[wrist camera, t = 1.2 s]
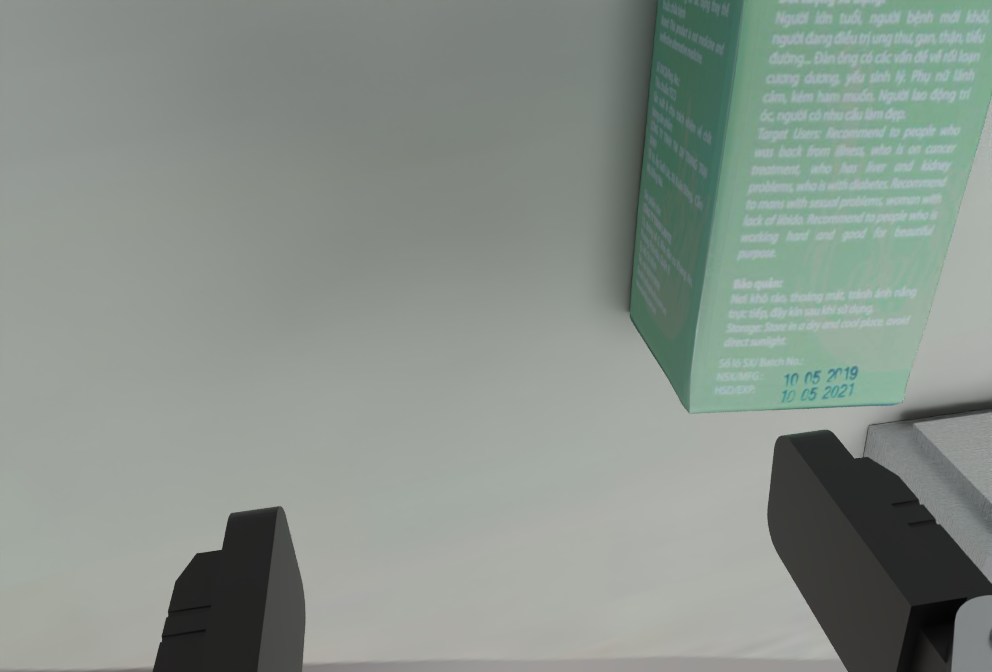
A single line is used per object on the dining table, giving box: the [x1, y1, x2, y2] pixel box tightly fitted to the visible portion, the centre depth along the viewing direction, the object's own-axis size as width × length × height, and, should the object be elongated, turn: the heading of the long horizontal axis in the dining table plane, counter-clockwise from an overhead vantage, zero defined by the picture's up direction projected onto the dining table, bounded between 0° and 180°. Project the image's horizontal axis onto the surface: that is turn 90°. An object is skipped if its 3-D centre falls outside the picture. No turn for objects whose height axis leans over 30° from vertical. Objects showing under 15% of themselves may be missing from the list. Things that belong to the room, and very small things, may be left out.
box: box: [630, 0, 992, 414], centre depth 27 cm, size 7×14×8 cm, turn 179°
